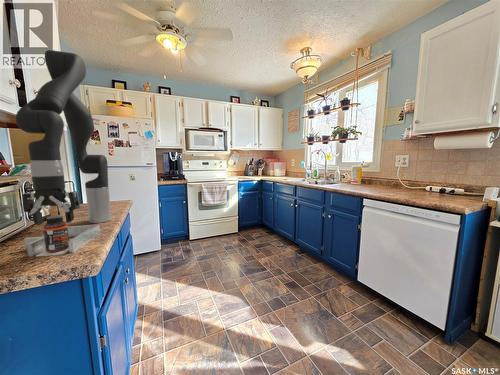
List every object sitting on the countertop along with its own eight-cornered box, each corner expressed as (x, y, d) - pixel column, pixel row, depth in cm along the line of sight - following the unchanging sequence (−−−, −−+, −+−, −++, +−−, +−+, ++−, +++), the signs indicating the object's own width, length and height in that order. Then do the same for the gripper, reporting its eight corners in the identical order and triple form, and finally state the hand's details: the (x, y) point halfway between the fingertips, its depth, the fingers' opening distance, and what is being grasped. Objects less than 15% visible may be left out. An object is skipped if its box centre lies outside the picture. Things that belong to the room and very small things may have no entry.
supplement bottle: (55, 254, 66) (50, 219, 65) (41, 252, 68) (36, 218, 66) (74, 246, 72) (70, 215, 71) (61, 245, 73) (57, 214, 72)
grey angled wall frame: (51, 237, 82) (50, 227, 81) (100, 233, 86) (99, 224, 85) (9, 257, 64) (8, 245, 64) (73, 252, 68) (72, 240, 68)
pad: (52, 247, 73) (52, 246, 72) (77, 245, 74) (77, 244, 74) (35, 256, 65) (35, 255, 65) (63, 254, 67) (63, 253, 67)
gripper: (80, 173, 72) (85, 218, 74) (30, 174, 69) (37, 221, 71) (66, 175, 64) (72, 225, 67) (10, 175, 61) (18, 228, 63)
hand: (54, 223), depth 69 cm, fingers open, 8 cm apart
